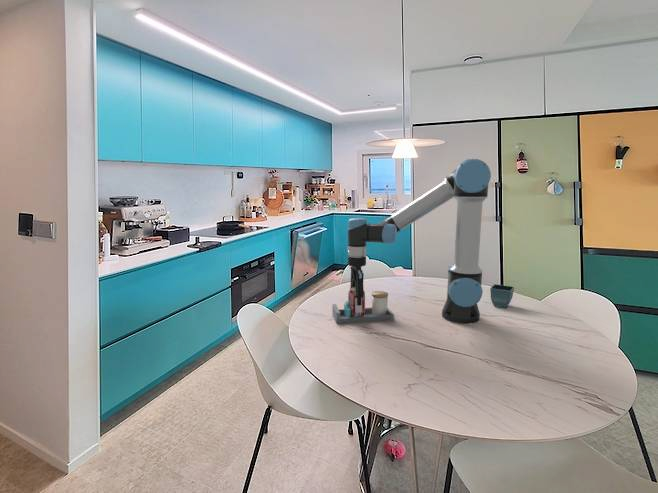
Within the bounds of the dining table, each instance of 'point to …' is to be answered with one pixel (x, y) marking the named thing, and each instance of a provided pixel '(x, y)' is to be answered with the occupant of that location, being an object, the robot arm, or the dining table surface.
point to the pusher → (346, 309)
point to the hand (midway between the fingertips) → (356, 309)
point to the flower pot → (501, 295)
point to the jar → (379, 303)
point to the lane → (367, 317)
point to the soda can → (352, 303)
